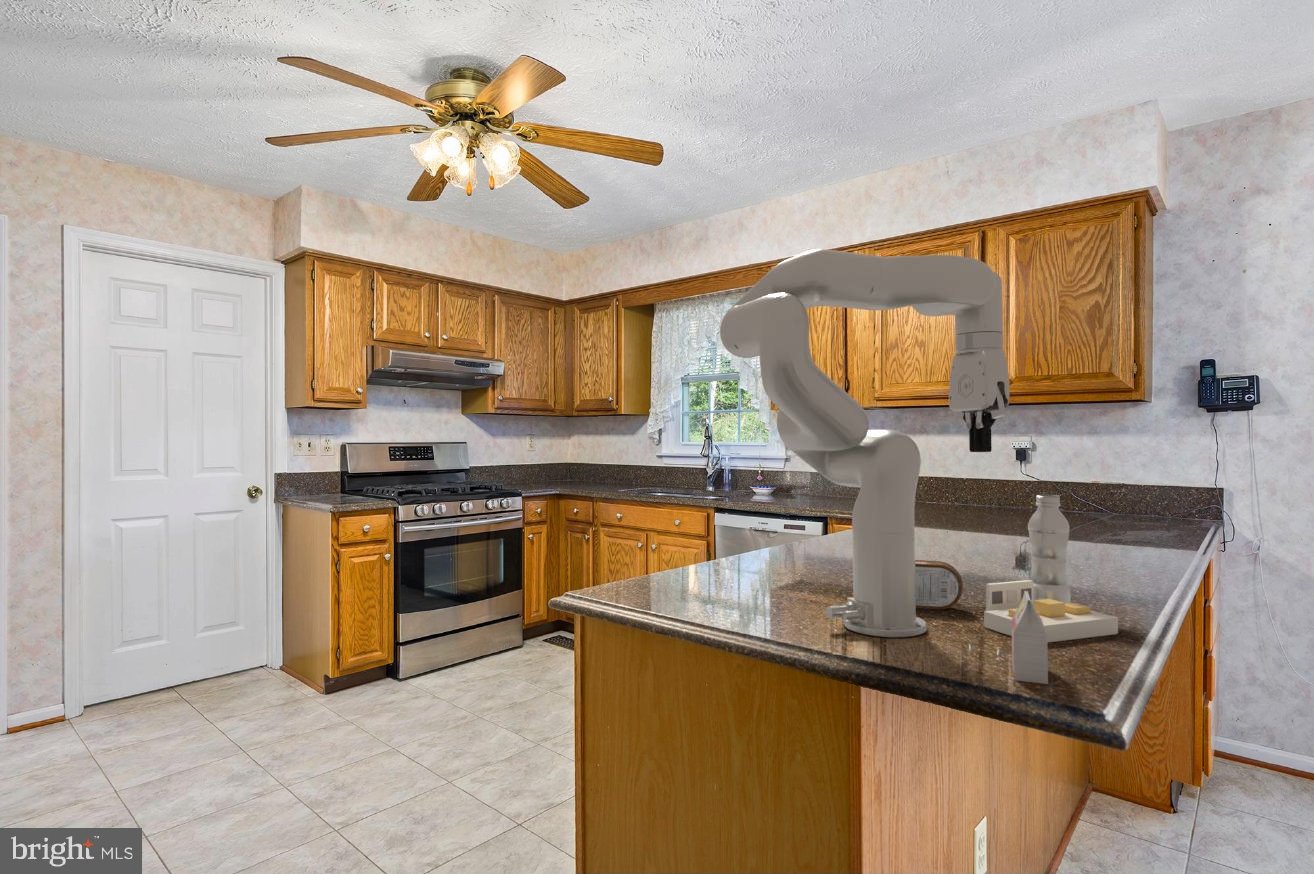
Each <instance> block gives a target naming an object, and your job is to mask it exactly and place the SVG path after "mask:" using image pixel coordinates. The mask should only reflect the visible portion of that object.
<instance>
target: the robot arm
mask: <svg viewBox="0 0 1314 874" xmlns="http://www.w3.org/2000/svg"><path fill="white" fill-rule="evenodd" d="M815 307H830V308H832V307H833V308H846V309H855V310H863V311H865V310H866V311H886V310H887V311H889V310H896V309H902V308H906V307H912V309H913V310H914V311H916V312H917V313H918V314H920V315H923V316H926V317H932V318H933V317H942V316H953V317H954V334H955V335H954V337H955V340H954V341H955V343H954V346H955V347H954V348H955V351H954V352H955V353H954V354H955V355H953V356H952V361H951V366H950V372H949V373H950V374H949V383H948V384H949V385H948V386H949V387H948V406H949V409H950V410H951V411H952V412H956V413H955V416H956V418H957V419H959V420H962V421H964V423H965V424H966V426H965V427H966V428H967V429H968V435H969V436H968V437H969V438H968V441H969V445H968V446H969V447H968V448H969V452H971V453H991V452H992V429H993V428H994V427H995V422H996V421H997V419H999V418H1000V419H1001V418H1002V417H1005V415H1006V408H1007V407H1008V406H1009V404H1010V377H1009V370H1008V369H1009V368H1008V363H1007V357H1006V353H1005V351H1004V332H1003V330H1004V329H1003V328H1004V325H1003V323H1004V322H1003V321H1004V319H1003V317H1004V316H1003V314H1004V313H1003V310H1004V309H1003V307H1004V306H1003V279H1002V277H1001V275H1000V274H999V273H997V272H995V271H993V269H992V268H991V267H990V266H989V265H988V264H987V263H985V262H984V261H982V260H979V259H977V258H973V257H965V256H959V255H951V254H950V255H949V254H930V255H929V254H928V255H927V254H926V255H895V256H894V255H893V256H884V255H883V256H880V255H872V254H866V253H859V252H858V253H856V252H850V251H849V252H848V251H842V250H834V249H828V248H816V249H811V250H807V251H805V252H802V253H800V254H797V255H795V256H793V257H790V258H788V259H785V260H782V261H781V262H779V263H778V264H776V265H775V266H774V267H772V269H770V270H769V271H768V272H766V274H765V275H764V276H762V277H761V279H759V280H758V281H757V282H756V283H755V284H754V285H753V286H751V288H750V289H749V290H748V291H746V292H745V294H744V295H742V296H741V297H740V298H739V299H738V301H736V302H735V303H733V305H732V306H731V307H730V308H729V309H728V310H727V311H726V313H725V315H724V316H723V318H722V320H721V322H720V327H719V328H720V329H719V335H720V340H721V343H722V345H723V347H724V348H725V349H726V350H727V352H729V353H730V354H731V355H733V356H735V357H737V358H742V359H752V358H757V357H759V367H760V377H761V381H762V382H761V383H762V387H763V389H764V392H765V393H766V396H767V397H768V398H769V400H770V401H771V402H772V404H773V405H775V407H777V408H778V409H779V410H778V413H777V416H776V427H777V432H778V435H779V437H780V439H781V440H782V442H783V443H784V445H785V446H786V448H788V449H789V450H790V451H791V452H792V453H794V454H795V455H796V456H797V457H799V458H800V459H801V460H802V461H804V462H805V463H806V464H807V465H808V466H810V467H811V468H812V469H814V470H815V471H816V472H817V473H819V474H820V475H821V476H822V477H824V478H825V479H827V480H828V481H830V482H832V483H833V484H836V485H839V486H842V487H849V488H850V487H852V488H860V489H859V492H858V495H857V497H856V499H855V503H854V505H853V510H852V514H851V515H852V517H851V528H852V587H853V588H852V589H853V591H852V593H853V594H852V595H853V596H852V597H847V598H846V600H847V601H846V602H845V603H843V604H842V605H829V606H827V607H826V609H825V611H826V612H825V613H826V616H827V618H828V619H829V620H830V619H831V620H832V619H833V620H834V619H840V618H842V620H843V626H845V628H846V629H848V630H850V631H852V632H855V633H859V634H862V635H866V636H867V635H868V636H873V637H880V638H881V637H882V638H908V637H915V636H919V635H922V634H924V633H925V632H927V622H926V621H925V620H924V619H922V618H921V617H918V616H917V608H916V585H915V560H916V535H915V534H916V533H915V532H916V530H915V505H916V494H917V487H918V481H919V476H920V472H921V463H922V461H921V460H922V459H921V453H920V449H919V447H918V445H917V443H916V442H915V440H913V439H912V437H910V436H909V435H908V434H906V433H905V432H902V431H898V430H894V429H884V428H883V429H870V421H869V416H868V414H867V412H866V411H865V408H863V406H862V405H861V404H860V402H858V401H857V400H856V399H855V398H853V397H852V396H851V395H850V394H849V393H848V392H846V391H845V390H844V389H843V388H842V387H841V386H839V385H838V384H837V383H836V382H835V381H834V380H832V379H831V378H830V377H829V376H828V375H827V374H826V373H825V372H823V370H821V368H820V367H819V366H818V365H817V363H816V362H815V361H814V359H813V357H812V354H811V349H810V318H809V314H808V311H807V309H810V308H815Z"/></svg>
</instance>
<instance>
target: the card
mask: <svg viewBox="0 0 1314 874" xmlns="http://www.w3.org/2000/svg"><path fill="white" fill-rule="evenodd" d="M1024 590H1025V591H1026V592H1027V591H1028V594H1029V597H1030V599H1031V602H1032V604H1033V581H1031V579H1026V580H1025V579H1024V580H1015V581H1004V582H1003V581H1002V582H1001V581H1000V582H989V583H985V611H993V610H1002V609H1012V608H1018V607H1019V605H1020V603H1021V600H1022V598H1023V595H1024Z"/></svg>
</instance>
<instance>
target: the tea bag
mask: <svg viewBox="0 0 1314 874" xmlns="http://www.w3.org/2000/svg"><path fill="white" fill-rule="evenodd" d="M1011 624H1012V636H1011V665H1012V672H1013V679H1014V681H1019V682H1027V683H1036V684H1045V685H1048V684H1049V668H1048V667H1049V664H1048V663H1049V661H1048V659H1049V657H1048V653H1049V652H1048V651H1049V650H1048V642H1047V634H1046V631H1045V628H1044V625H1043V622H1042V620H1041V618H1040V617H1039V615H1038V613H1037V611H1036V609H1035V608H1034V606H1033V604H1032V602H1031V599H1030V597H1029V594H1028V591H1027V592H1026V591H1025V590H1024V595H1023V598H1022V600H1021V603H1020V605H1019V607H1018V609H1017V611H1016V612H1015V614H1014V616H1013V618H1012V620H1011Z"/></svg>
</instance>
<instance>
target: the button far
mask: <svg viewBox="0 0 1314 874" xmlns="http://www.w3.org/2000/svg"><path fill="white" fill-rule="evenodd" d="M1090 610H1091V606H1089V605H1085V604H1080V603H1076V602H1070V603H1066V604H1065V613H1069V614H1073V615H1082V614H1090Z"/></svg>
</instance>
